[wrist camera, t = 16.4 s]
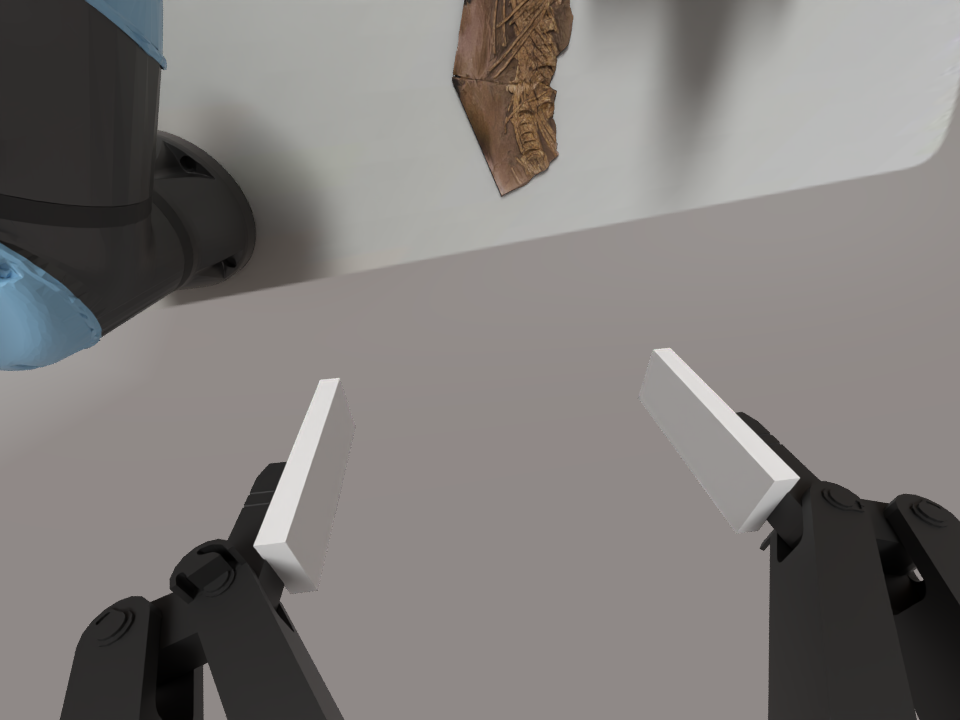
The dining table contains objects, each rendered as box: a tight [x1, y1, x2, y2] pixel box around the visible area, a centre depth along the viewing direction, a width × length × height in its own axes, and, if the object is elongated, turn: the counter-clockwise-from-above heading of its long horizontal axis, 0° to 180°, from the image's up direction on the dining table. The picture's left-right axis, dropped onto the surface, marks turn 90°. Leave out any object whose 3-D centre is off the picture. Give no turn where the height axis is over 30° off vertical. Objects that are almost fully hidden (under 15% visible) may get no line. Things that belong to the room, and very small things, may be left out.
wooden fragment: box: [452, 0, 573, 196], centre depth 33 cm, size 26×11×1 cm, turn 0°
